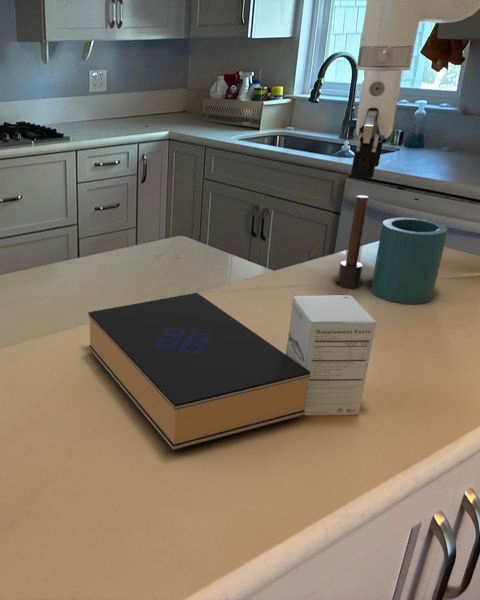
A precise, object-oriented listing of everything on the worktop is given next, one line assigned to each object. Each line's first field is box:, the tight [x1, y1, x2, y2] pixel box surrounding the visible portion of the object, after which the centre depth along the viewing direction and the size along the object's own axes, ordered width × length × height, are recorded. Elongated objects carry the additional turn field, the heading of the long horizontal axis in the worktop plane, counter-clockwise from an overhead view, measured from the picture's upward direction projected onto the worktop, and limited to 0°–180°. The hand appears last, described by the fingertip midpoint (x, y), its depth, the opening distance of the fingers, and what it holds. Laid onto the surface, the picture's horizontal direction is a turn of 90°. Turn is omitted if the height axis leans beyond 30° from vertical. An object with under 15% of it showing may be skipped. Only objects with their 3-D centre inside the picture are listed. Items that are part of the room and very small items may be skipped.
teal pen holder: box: [370, 217, 449, 305], centre depth 103 cm, size 9×9×12 cm
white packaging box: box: [285, 294, 377, 416], centre depth 73 cm, size 7×7×13 cm
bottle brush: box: [336, 194, 369, 290], centre depth 106 cm, size 4×4×16 cm
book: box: [87, 292, 311, 451], centre depth 79 cm, size 17×25×7 cm
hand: (364, 171), depth 101 cm, fingers open, 9 cm apart
